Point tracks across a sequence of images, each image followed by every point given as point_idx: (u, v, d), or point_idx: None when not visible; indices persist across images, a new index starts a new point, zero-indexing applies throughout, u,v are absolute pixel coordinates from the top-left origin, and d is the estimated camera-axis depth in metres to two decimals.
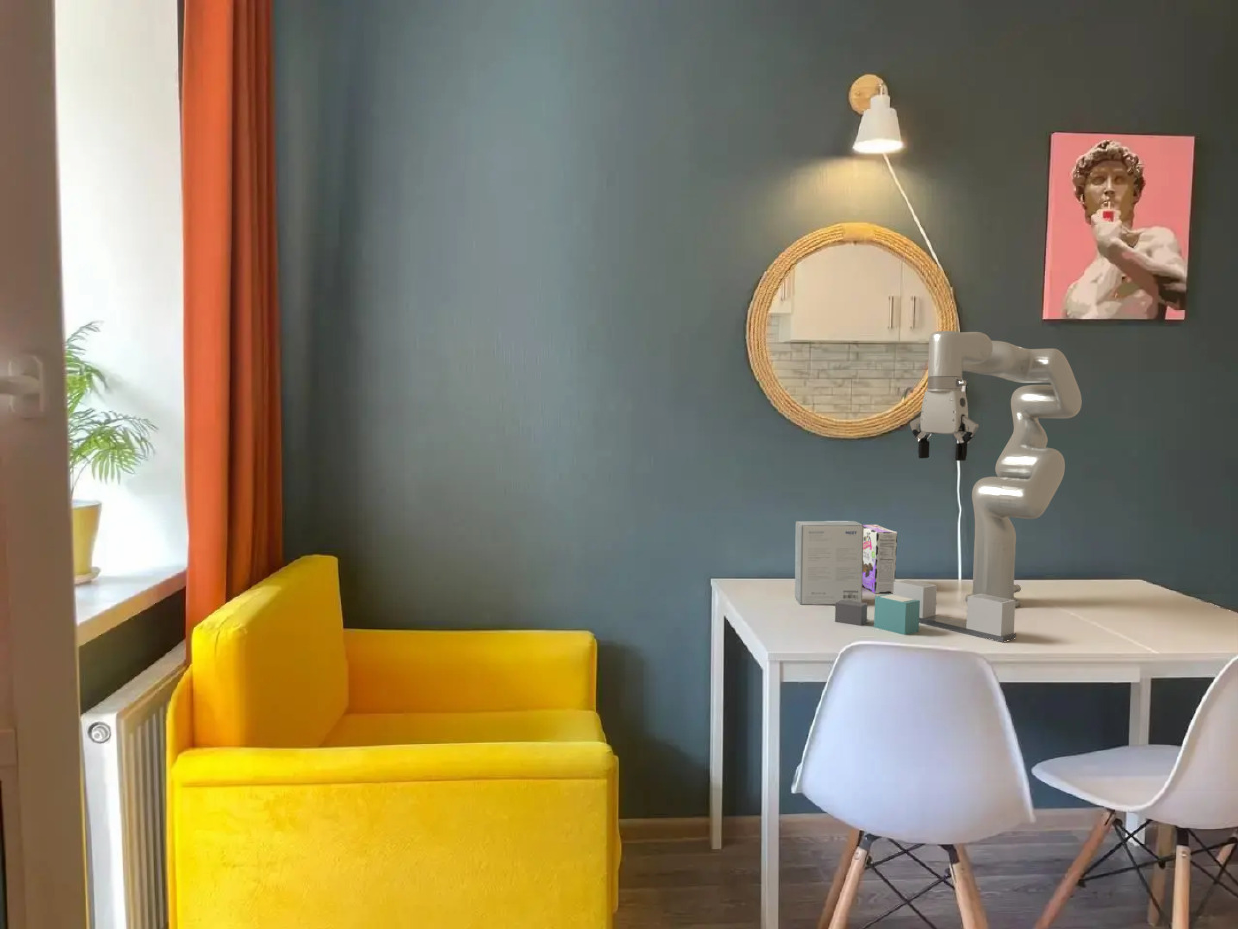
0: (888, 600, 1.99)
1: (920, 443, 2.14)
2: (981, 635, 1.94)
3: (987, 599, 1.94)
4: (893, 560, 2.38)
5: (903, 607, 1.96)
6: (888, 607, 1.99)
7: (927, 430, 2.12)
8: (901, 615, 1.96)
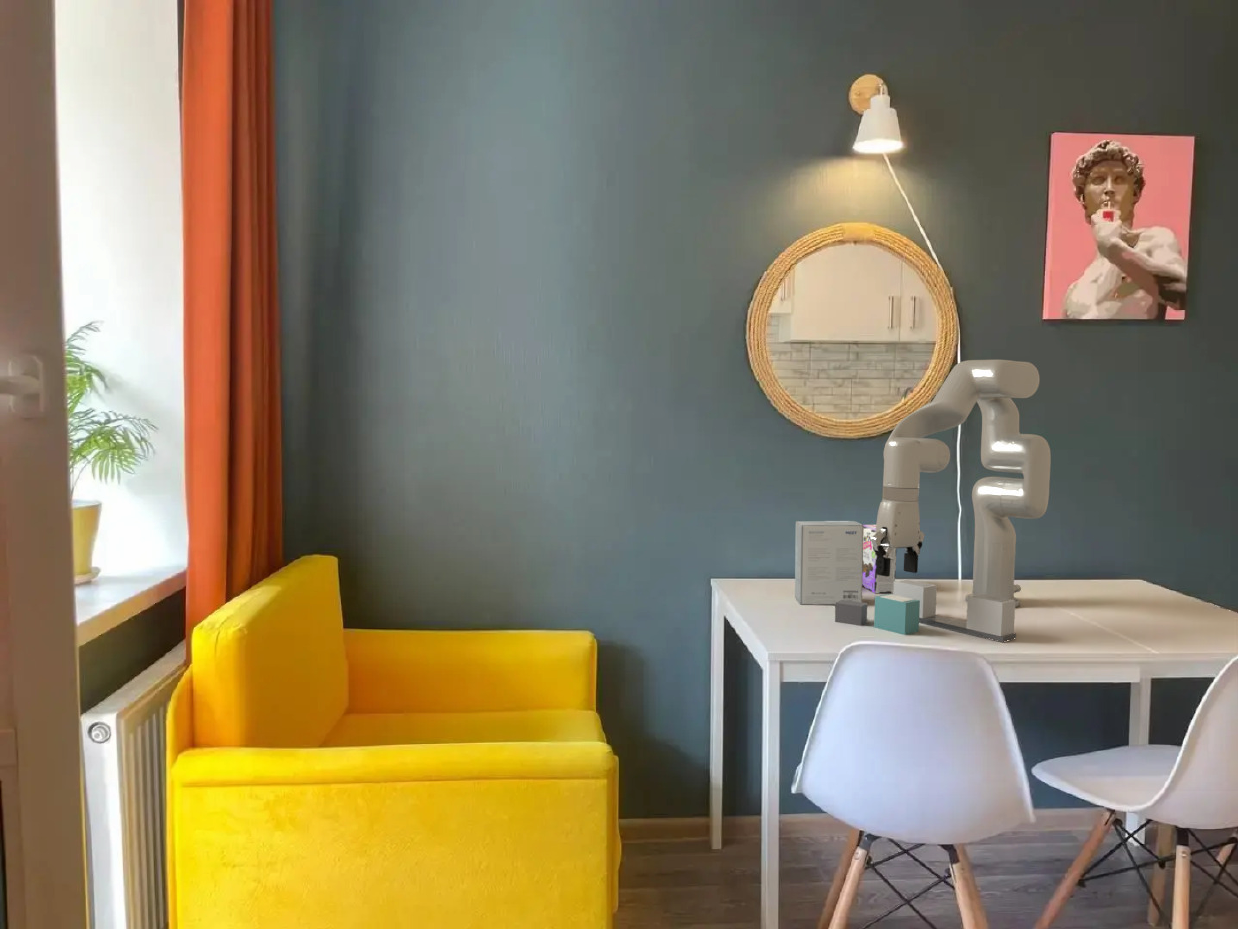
0: (888, 600, 1.99)
1: (889, 560, 1.95)
2: (981, 635, 1.94)
3: (987, 599, 1.94)
4: (893, 561, 2.38)
5: (903, 607, 1.96)
6: (888, 607, 1.99)
7: (898, 545, 1.96)
8: (901, 615, 1.96)
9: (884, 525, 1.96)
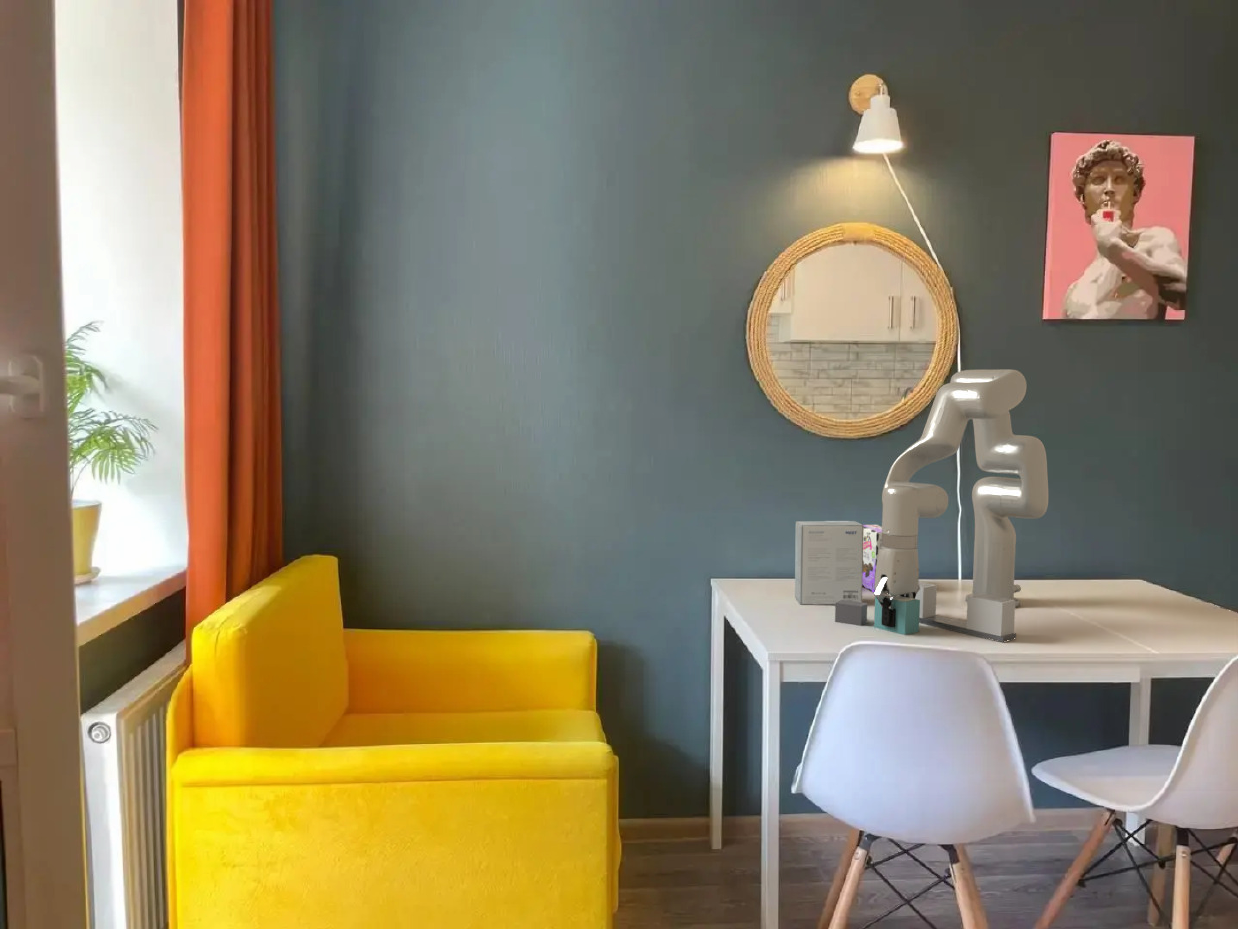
0: None
1: (895, 611, 1.97)
2: (981, 635, 1.94)
3: (987, 599, 1.94)
4: None
5: (903, 607, 1.96)
6: None
7: (897, 593, 1.97)
8: (901, 615, 1.96)
9: (883, 572, 1.97)
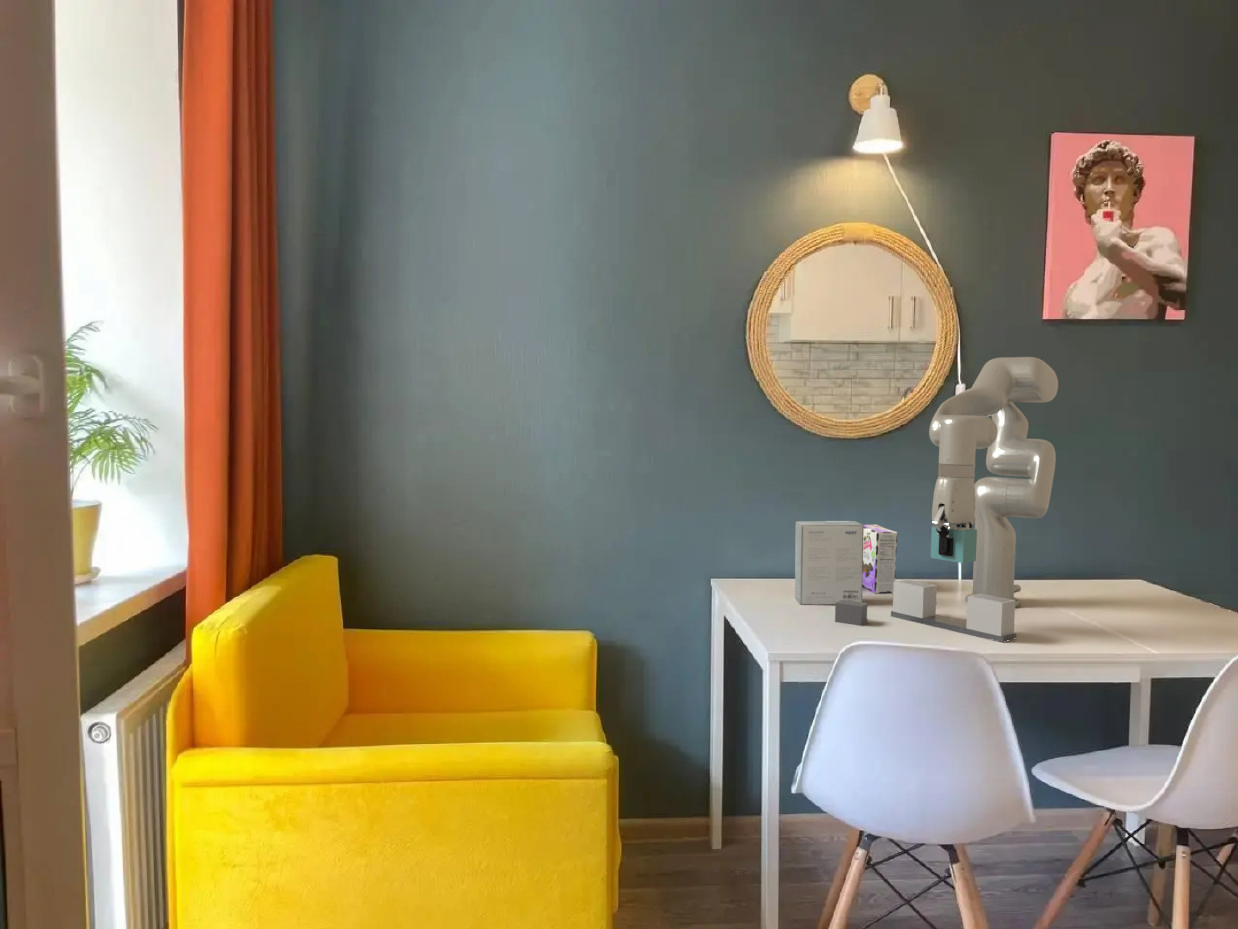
0: None
1: (952, 540, 1.99)
2: (981, 635, 1.94)
3: (987, 599, 1.94)
4: (893, 561, 2.38)
5: (961, 535, 1.97)
6: None
7: (955, 521, 1.98)
8: (959, 543, 1.98)
9: (941, 501, 1.98)
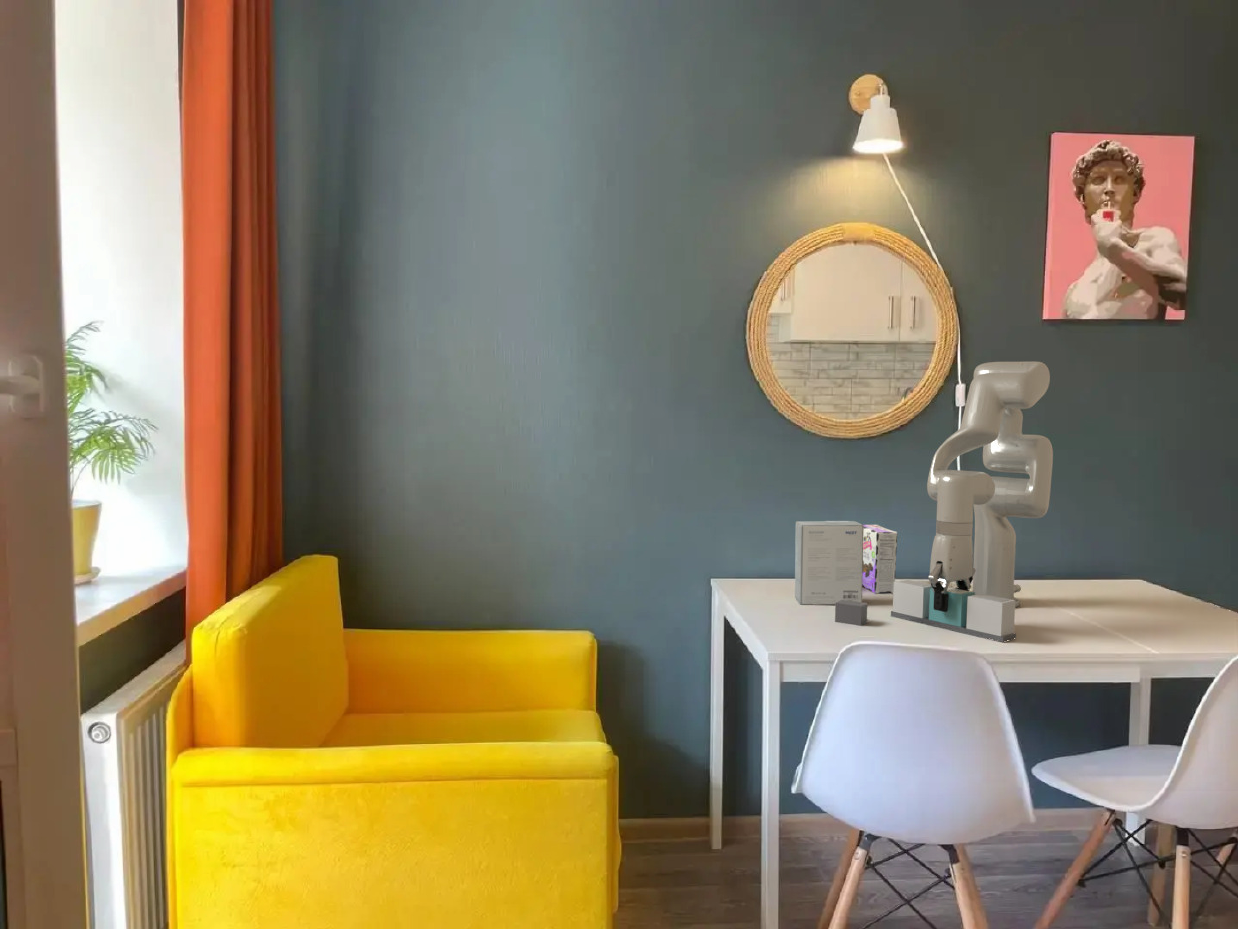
0: None
1: (947, 596, 1.99)
2: (981, 635, 1.94)
3: (987, 599, 1.94)
4: (893, 561, 2.38)
5: (959, 599, 1.99)
6: None
7: (953, 579, 1.99)
8: (957, 607, 1.99)
9: (939, 559, 1.99)
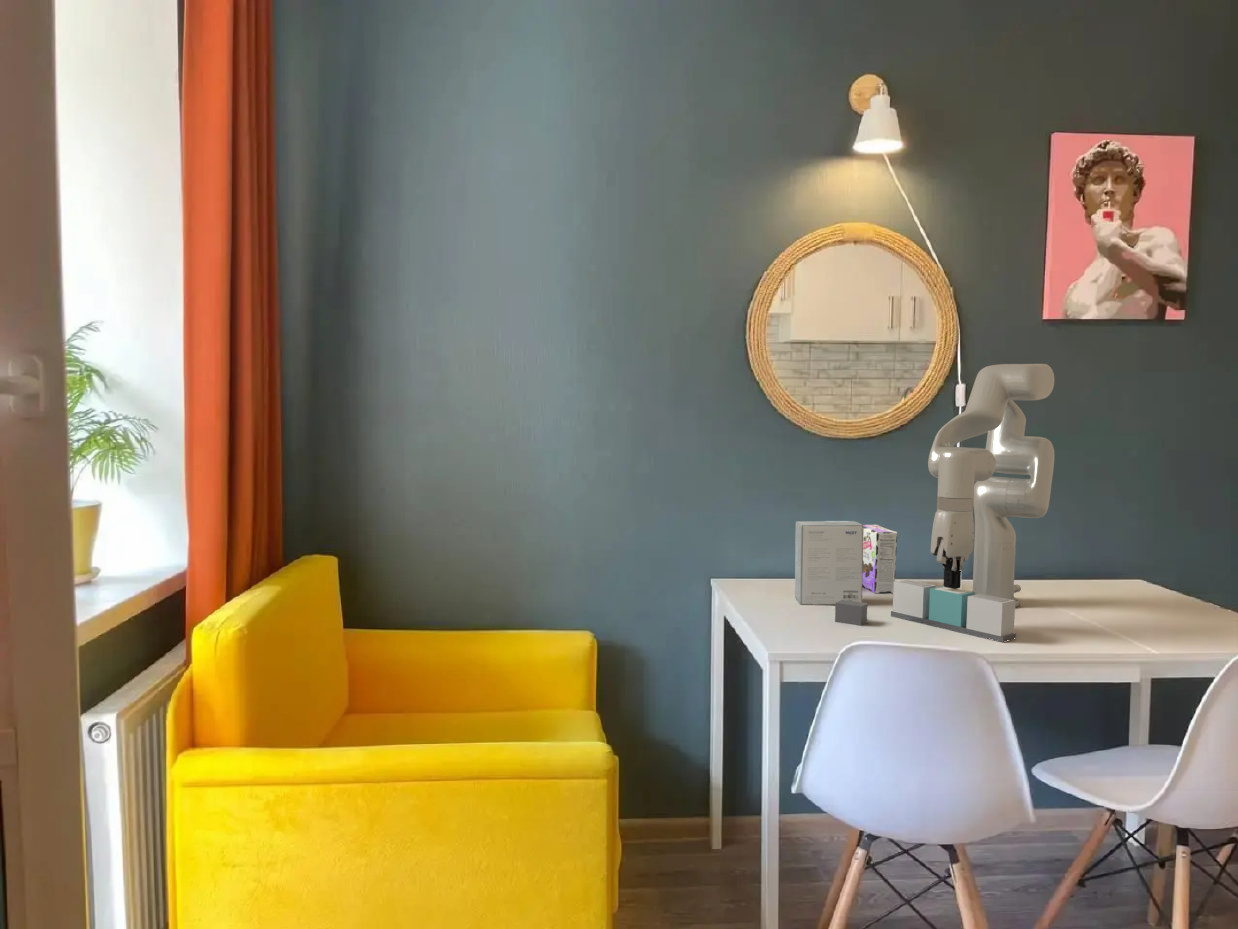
0: (943, 592, 2.02)
1: (957, 573, 2.01)
2: (981, 635, 1.94)
3: (987, 599, 1.94)
4: (893, 561, 2.38)
5: (959, 599, 1.99)
6: (944, 599, 2.02)
7: (954, 555, 1.99)
8: (957, 607, 1.99)
9: (940, 535, 1.99)
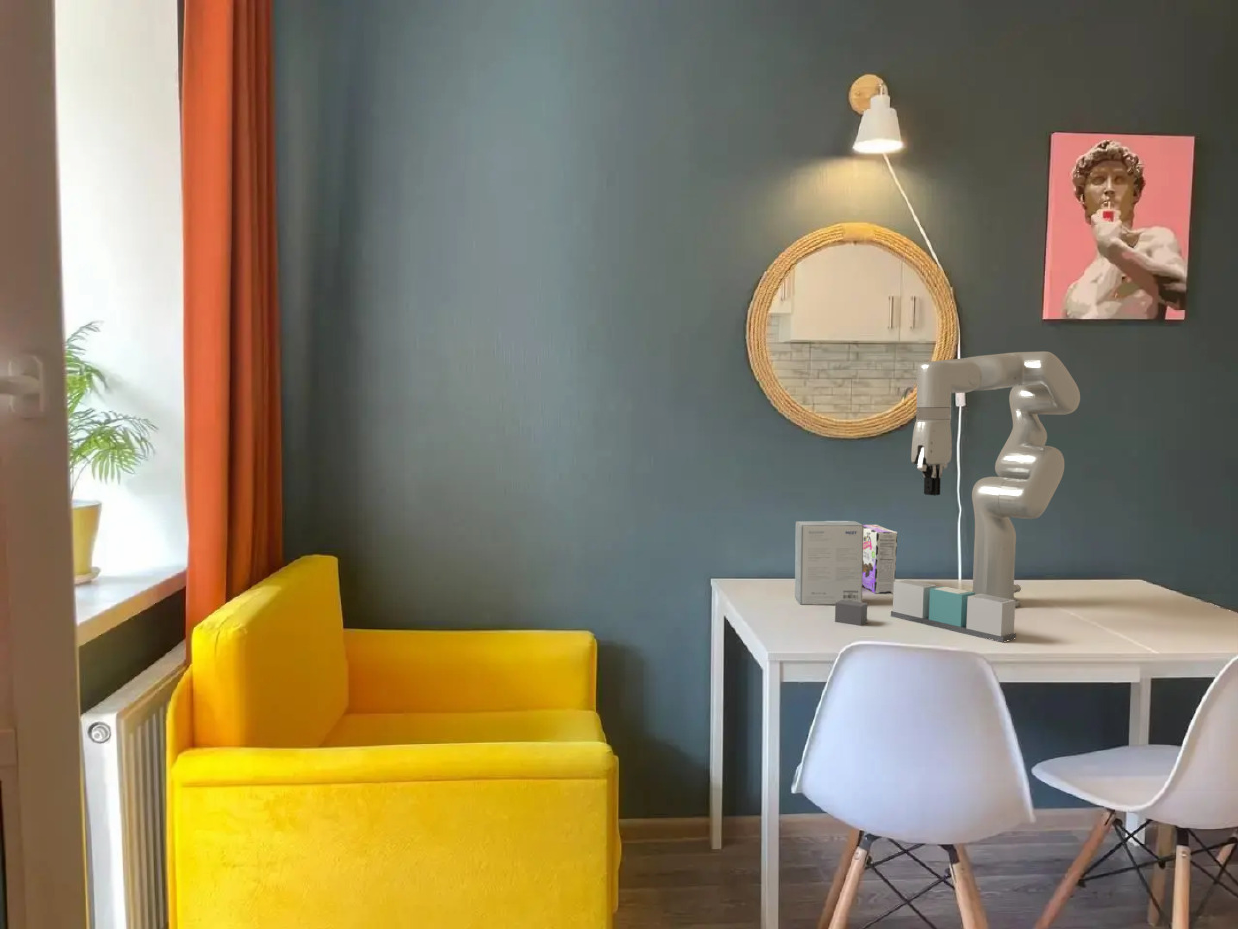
0: (943, 592, 2.02)
1: (937, 480, 2.09)
2: (981, 635, 1.94)
3: (987, 599, 1.94)
4: (893, 560, 2.38)
5: (959, 599, 1.99)
6: (944, 599, 2.02)
7: (934, 462, 2.07)
8: (957, 607, 1.99)
9: (920, 443, 2.07)
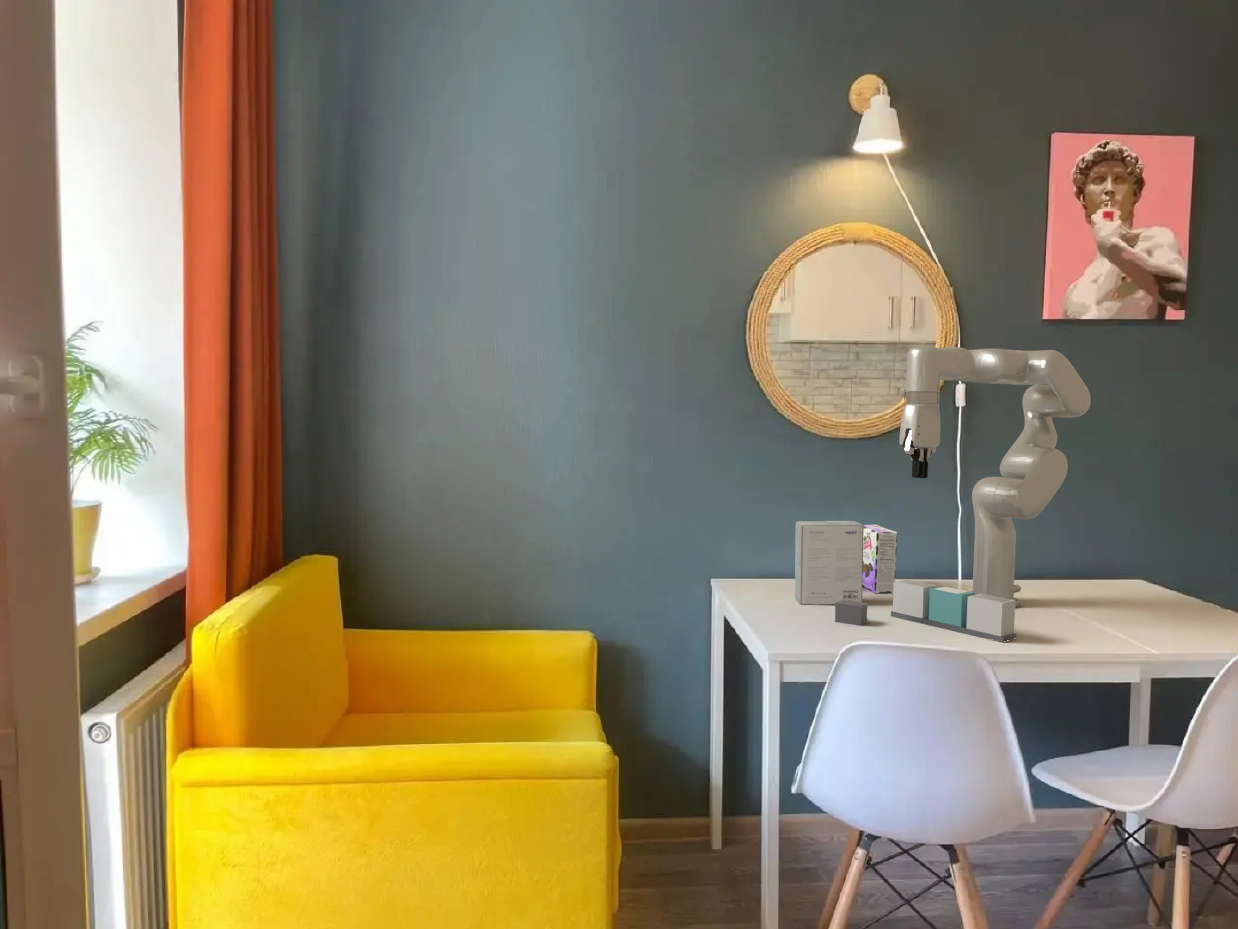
0: (943, 592, 2.02)
1: (924, 463, 2.14)
2: (981, 635, 1.94)
3: (987, 599, 1.94)
4: (893, 560, 2.38)
5: (959, 599, 1.99)
6: (944, 599, 2.02)
7: (921, 445, 2.12)
8: (957, 607, 1.99)
9: (907, 426, 2.12)
